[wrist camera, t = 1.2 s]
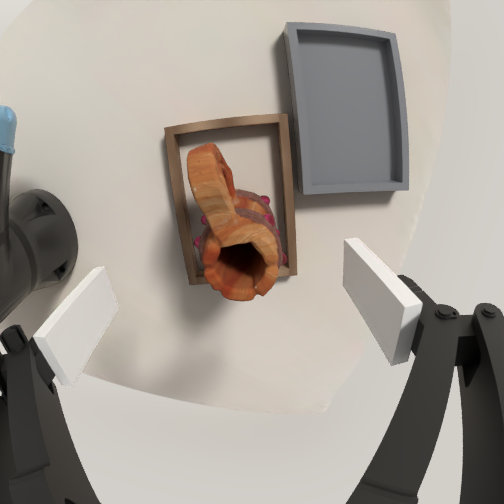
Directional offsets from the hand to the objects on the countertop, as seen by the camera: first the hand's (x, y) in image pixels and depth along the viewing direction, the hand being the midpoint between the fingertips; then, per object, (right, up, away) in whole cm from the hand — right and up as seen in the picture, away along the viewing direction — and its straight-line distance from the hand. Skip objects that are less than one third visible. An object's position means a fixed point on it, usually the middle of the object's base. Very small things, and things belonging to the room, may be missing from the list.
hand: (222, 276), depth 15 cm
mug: (-1, +8, +20) cm, 22 cm away
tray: (+13, +19, +16) cm, 28 cm away
